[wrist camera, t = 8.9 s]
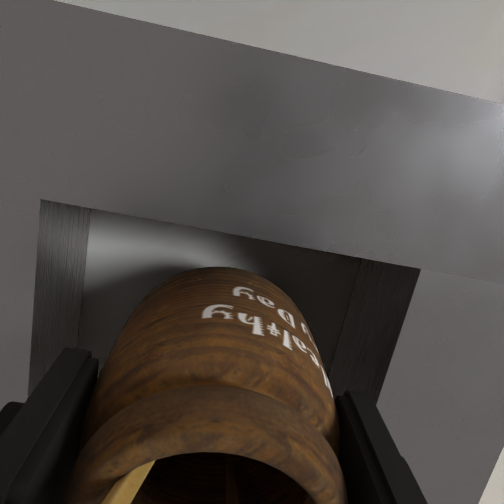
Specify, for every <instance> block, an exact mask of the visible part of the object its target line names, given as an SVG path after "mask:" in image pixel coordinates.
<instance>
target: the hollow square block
mask: <svg viewBox="0 0 504 504" xmlns="http://www.w3.org/2000/svg"><path fill="white" fill-rule="evenodd" d="M91 208H92V209H98V210H103V211H109V212H114V213H119V214H125V215H130V216H136V217H141V218H147V219H152V220H157V221H163V222H168V223H174V224H179V225H185V226H190V227H196V228H201V229H206V230H212V231H217V232H223V233H228V234H234V235H239V236H244V237H250V238H255V239H261V240H266V241H272V242H277V243H283V244H288V245H293V246H299V247H304V248H310V249H315V250H321V251H326V252H331V253H337V254H342V255H348V256H353V257H359V258H362V261H361V264H360V268H359V271H358V275H357V278H356V282H355V285H354V289H353V292H352V295H351V299H350V302H349V306H348V309H347V313H346V316H345V320H344V323H343V327H342V330H341V334H340V337H339V341H338V344H337V347H336V351H335V354H334V358H333V361H332V365H331V368H330V372H329V375H328V380H329V383H330V386H331V389H332V393H333V396H334V400H335V398H336V396H337V395H341V396H343V393H344V392H345V391H346V390H349V391H356V392H362V393H368V394H370V395H371V396H372V398H373V400H374V402H375V404H376V406H377V408H378V410H379V412H380V414H381V416H382V418H383V421H384V423H385V425H386V427H387V429H388V431H389V433H390V435H391V437H392V439H393V441H394V443H395V445H396V447H397V449H398V451H399V453H400V455H401V456H402V457H404V459H405V460H406V462H407V463H408V465H409V467H410V469H411V471H412V473H413V475H414V477H415V479H416V481H417V483H418V485H419V487H420V489H421V491H422V493H423V495H424V497H425V499H426V501H427V503H428V504H478V503H479V501H480V498H481V496H482V494H483V492H484V489H485V487H486V485H487V483H488V480H489V478H490V476H491V474H492V471H493V469H494V467H495V464H496V462H497V460H498V458H499V455H500V453H501V451H502V449H503V446H504V104H500V103H496V102H491V101H487V100H483V99H478V98H474V97H470V96H465V95H461V94H457V93H452V92H448V91H444V90H439V89H435V88H431V87H426V86H422V85H418V84H413V83H409V82H405V81H400V80H396V79H392V78H387V77H383V76H379V75H374V74H370V73H366V72H361V71H357V70H353V69H348V68H344V67H340V66H335V65H331V64H327V63H322V62H318V61H314V60H309V59H305V58H300V57H296V56H292V55H287V54H283V53H279V52H274V51H270V50H266V49H261V48H257V47H253V46H248V45H244V44H240V43H235V42H231V41H227V40H222V39H218V38H214V37H209V36H205V35H201V34H196V33H192V32H188V31H183V30H179V29H175V28H170V27H166V26H162V25H157V24H153V23H149V22H144V21H140V20H136V19H131V18H127V17H123V16H118V15H114V14H110V13H105V12H101V11H97V10H92V9H88V8H84V7H79V6H75V5H70V4H66V3H62V2H57V1H53V0H0V411H1V409H2V408H3V407H4V406H5V405H6V404H7V403H8V402H11V401H14V402H21V403H25V402H26V400H27V399H28V398H29V396H30V395H31V393H32V392H33V391H34V389H35V388H36V387H37V385H38V384H39V382H40V381H41V380H42V378H43V377H44V375H45V374H46V373H47V371H48V370H49V368H50V367H51V366H52V364H53V363H54V361H55V360H56V359H57V357H58V356H59V355H60V353H61V352H62V350H63V349H64V348H73V349H77V343H78V333H79V323H80V313H81V303H82V293H83V283H84V273H85V263H86V252H87V242H88V232H89V222H90V212H91Z"/></svg>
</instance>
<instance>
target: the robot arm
mask: <svg viewBox="0 0 504 504" xmlns="http://www.w3.org/2000/svg"><path fill="white" fill-rule="evenodd" d="M98 365H99V360H98V359H96V358H91V352H90V351H86V350H80V349H73V348H64V349H63V350H62V352H61V353H60V355H59V356H58V357H57V359H56V360H55V361H54V363H53V364H52V366H51V367H50V368H49V370H48V371H47V373H46V374H45V375H44V377H43V378H42V380H41V381H40V382H39V384H38V385H37V387H36V388H35V389H34V391H33V392H32V393H31V395H30V396H29V398H28V399H27V400H26V402H25V403H21V402H14V401H11V402H8V403H7V404H6V405H5V406H4V407H3V408H2V409H1V411H0V504H62V503H63V499H64V494H65V490H66V486H67V482H68V479H69V476H70V474H71V471H72V468H73V466H74V464H75V462H76V460H77V458H78V456H79V445H80V437H81V431H82V426H83V421H84V416H85V413H86V409H87V406H88V403H89V400H90V397H91V394H92V391H93V389H94V386H95V384H96V381H97V374H98ZM335 404H336V408H337V412H338V419H339V428H340V445H339V455H338V462H339V464H340V467H341V470H342V472H343V476H344V480H345V484H346V489H347V496H348V504H428V503H427V501H426V499H425V497H424V495H423V493H422V491H421V489H420V487H419V485H418V483H417V481H416V479H415V477H414V475H413V473H412V471H411V469H410V467H409V465H408V463H407V462H406V460H405V459H404V457H402V456H401V455H400V453H399V451H398V449H397V447H396V445H395V443H394V441H393V439H392V437H391V435H390V433H389V431H388V429H387V427H386V425H385V423H384V421H383V418H382V416H381V414H380V412H379V410H378V408H377V406H376V404H375V402H374V400H373V398H372V396H371V395H370V394H368V393H362V392H356V391H349V390H346V391H345V392H344V393H343V396H341V395H337V396H336V398H335Z"/></svg>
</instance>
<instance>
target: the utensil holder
mask: <svg viewBox="0 0 504 504" xmlns="http://www.w3.org/2000/svg"><path fill="white" fill-rule="evenodd" d="M339 445H340V428H339V419H338V412H337V408H336V404H335V400H334V396H333V393H332V389H331V386H330V383H329V380H328V377H327V374H326V372H325V369H324V366H323V363H322V360H321V358H320V355H319V352H318V349H317V347H316V344H315V341H314V339H313V336H312V334H311V331H310V329H309V327H308V325H307V323H306V321H305V319H304V317H303V315H302V314H301V312H300V311H299V309H298V308H297V306H296V305H295V304H294V302H293V301H292V300H291V299H290V298H289V297H288V296H287V295H286V294H285V293H284V292H283V291H282V290H281V289H280V288H278V287H277V286H276V285H274V284H273V283H272V282H270V281H268V280H267V279H265V278H263V277H261V276H259V275H256V274H254V273H251V272H248V271H245V270H241V269H236V268H230V267H205V268H199V269H194V270H190V271H187V272H184V273H181V274H179V275H176V276H174V277H172V278H170V279H168V280H167V281H165V282H163V283H162V284H160V285H159V286H158V287H156V288H155V289H154V290H153V291H151V292H150V293H149V294H148V295H147V296H146V297H145V298H144V299H143V300H142V302H141V303H140V304H139V305H138V306H137V308H136V309H135V310H134V312H133V313H132V315H131V316H130V318H129V319H128V321H127V323H126V324H125V326H124V328H123V330H122V331H121V333H120V335H119V337H118V339H117V341H116V343H115V345H114V347H113V348H112V350H111V352H110V354H109V356H108V358H107V360H106V362H105V364H104V366H103V368H102V370H101V372H100V374H99V377H98V379H97V381H96V384H95V386H94V389H93V391H92V394H91V397H90V400H89V403H88V406H87V409H86V413H85V416H84V421H83V426H82V431H81V437H80V445H79V456H78V458H77V460H76V462H75V464H74V466H73V468H72V471H71V474H70V476H69V479H68V482H67V486H66V490H65V494H64V499H63V503H62V504H348V496H347V489H346V484H345V480H344V476H343V472H342V470H341V467H340V464H339V462H338V455H339Z"/></svg>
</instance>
